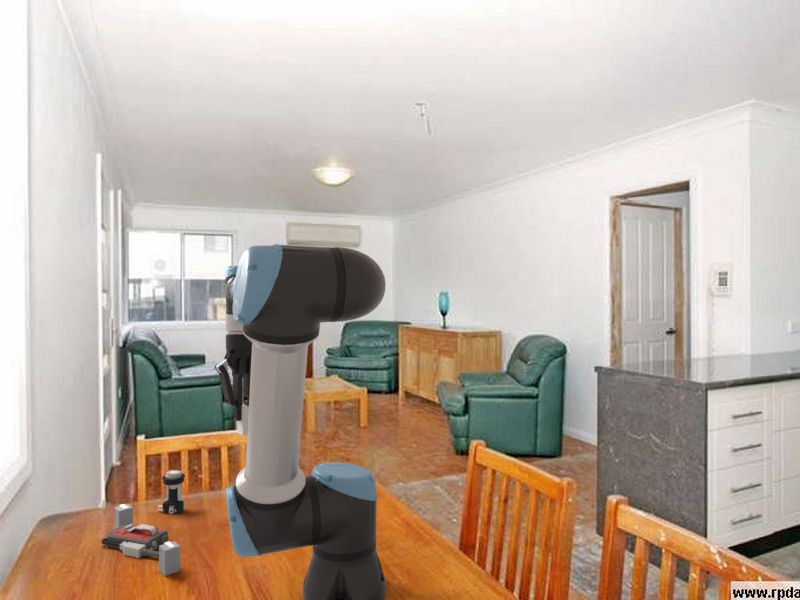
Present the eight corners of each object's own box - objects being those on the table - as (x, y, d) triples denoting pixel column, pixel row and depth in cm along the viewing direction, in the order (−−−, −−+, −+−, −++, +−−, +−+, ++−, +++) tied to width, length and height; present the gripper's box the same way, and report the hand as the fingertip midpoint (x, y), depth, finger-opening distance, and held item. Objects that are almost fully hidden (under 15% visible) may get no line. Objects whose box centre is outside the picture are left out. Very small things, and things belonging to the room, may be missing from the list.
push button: (153, 515, 138) (153, 475, 138) (162, 507, 143) (162, 468, 143) (180, 516, 138) (179, 475, 138) (188, 507, 143) (188, 468, 143)
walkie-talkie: (92, 552, 120) (170, 566, 114) (92, 531, 120) (170, 544, 114) (124, 534, 128) (198, 547, 122) (124, 515, 128) (198, 527, 122)
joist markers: (180, 570, 111) (180, 544, 111) (165, 576, 109) (164, 549, 109) (128, 524, 133) (128, 502, 133) (114, 528, 131) (114, 506, 130)
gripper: (259, 330, 137) (259, 426, 137) (208, 332, 128) (208, 435, 128) (275, 331, 131) (276, 431, 132) (223, 334, 122) (224, 442, 123)
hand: (243, 433), depth 130 cm, fingers closed
